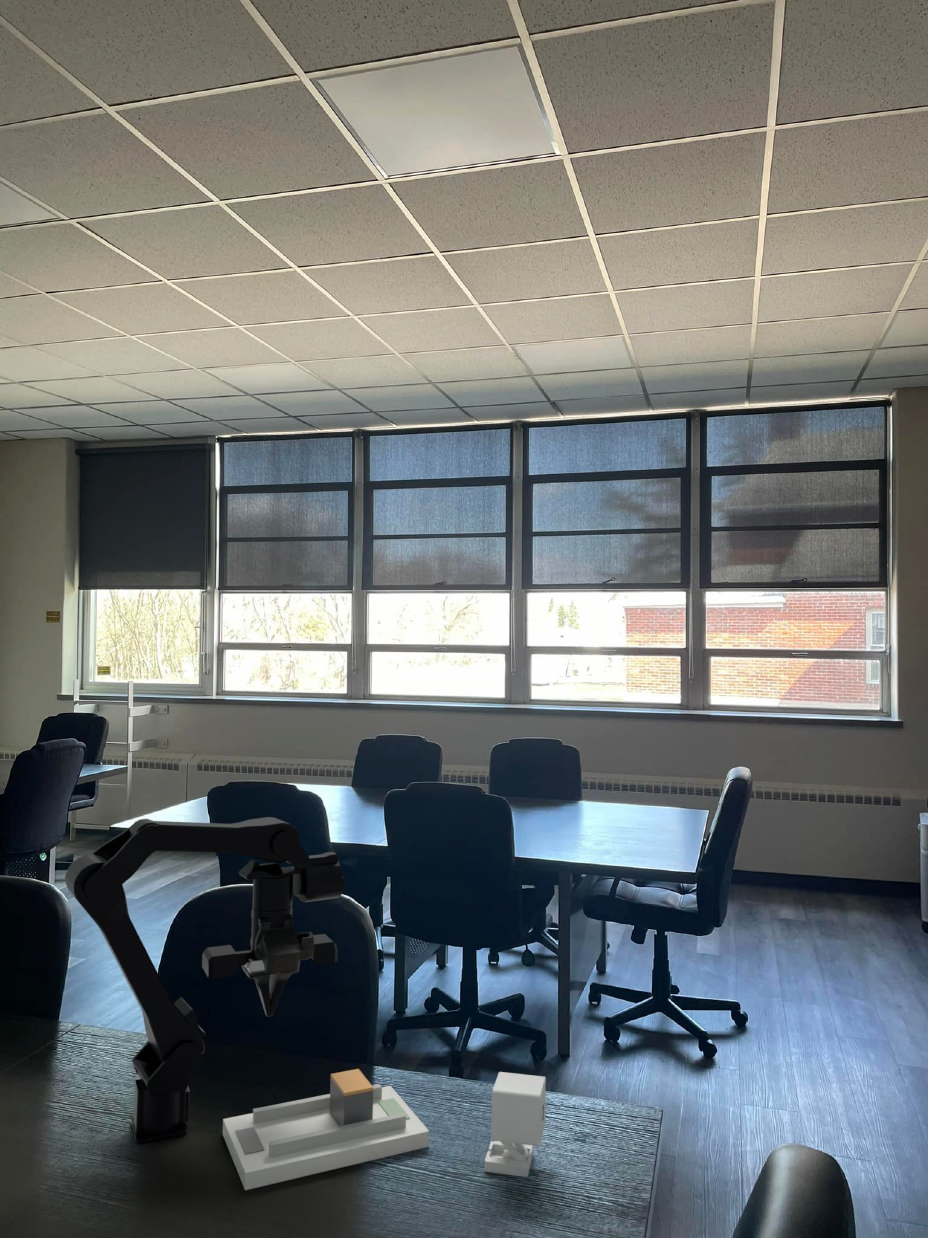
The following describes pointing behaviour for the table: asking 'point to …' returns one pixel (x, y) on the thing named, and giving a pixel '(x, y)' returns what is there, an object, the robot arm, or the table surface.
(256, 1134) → the white rail tray
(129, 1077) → the table surface
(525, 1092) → the security camera
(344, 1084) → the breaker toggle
